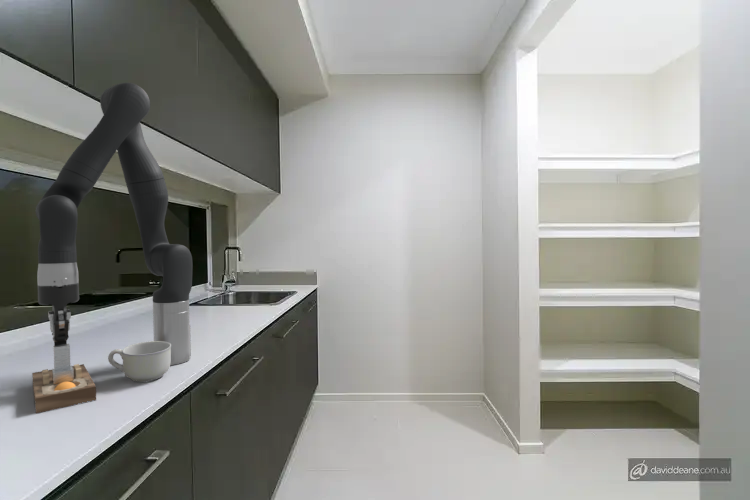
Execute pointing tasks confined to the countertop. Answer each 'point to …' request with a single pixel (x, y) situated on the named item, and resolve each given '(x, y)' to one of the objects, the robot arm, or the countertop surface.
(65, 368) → the grey upright block
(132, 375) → the teacup
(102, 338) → the countertop surface
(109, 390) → the countertop surface
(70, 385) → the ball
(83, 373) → the wooden holder
